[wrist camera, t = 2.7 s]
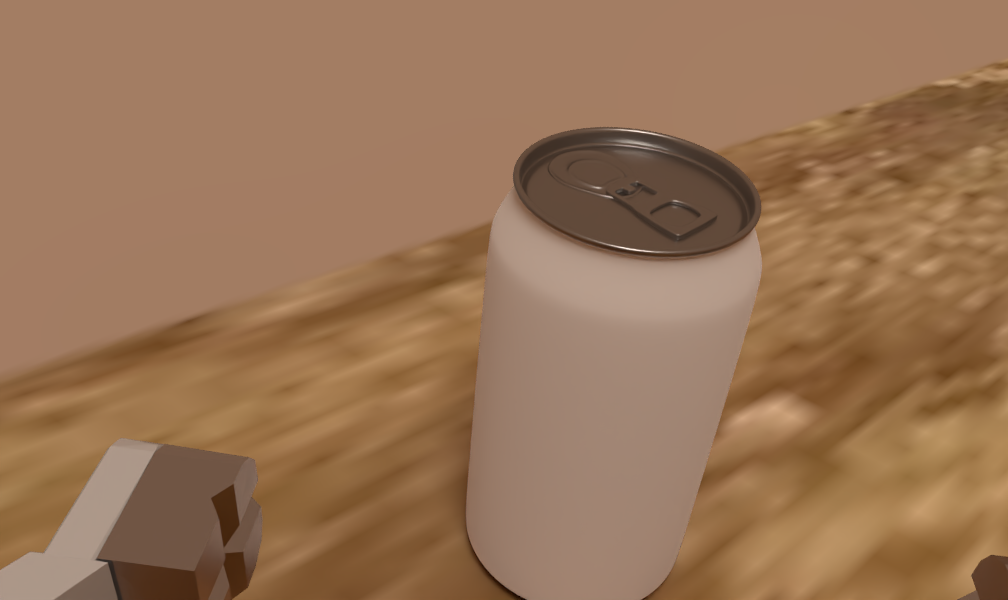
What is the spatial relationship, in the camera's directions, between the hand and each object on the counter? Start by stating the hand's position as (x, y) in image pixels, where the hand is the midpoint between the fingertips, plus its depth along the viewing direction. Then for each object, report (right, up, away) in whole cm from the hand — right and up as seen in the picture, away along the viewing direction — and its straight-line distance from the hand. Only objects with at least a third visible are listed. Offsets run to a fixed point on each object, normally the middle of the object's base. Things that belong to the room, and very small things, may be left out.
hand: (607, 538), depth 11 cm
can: (+1, -4, +18) cm, 18 cm away
